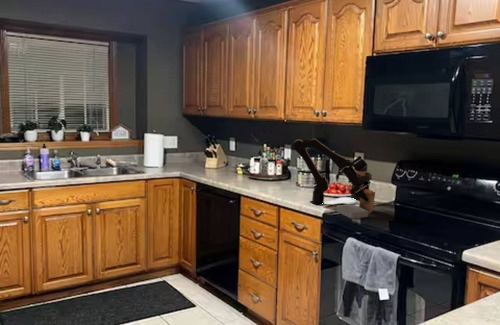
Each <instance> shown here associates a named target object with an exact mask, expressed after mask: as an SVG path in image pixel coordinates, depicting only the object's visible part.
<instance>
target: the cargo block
mask: <svg viewBox="0 0 500 325" xmlns="http://www.w3.org/2000/svg"><path fill="white" fill-rule="evenodd" d="M364 192H365V193H368V194H372V193H373V192H374V190H372V189H369V190H368V189H365V190H364Z"/></svg>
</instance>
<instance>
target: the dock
mask: <svg viewBox="0 0 500 325" xmlns="http://www.w3.org/2000/svg"><path fill="white" fill-rule="evenodd" d="M368 212H369V211H367V210H365V209H362V208H360V207H359V206H358V205H356V204H344V205H337V206H336V213H339V214H341V215H343V216H345V217H347V218H349V219H360V218H368V217H369V213H368Z"/></svg>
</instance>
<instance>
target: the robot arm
mask: <svg viewBox="0 0 500 325" xmlns="http://www.w3.org/2000/svg"><path fill="white" fill-rule="evenodd" d="M292 146H293V149H294V150H295V152H296V153H297V154H298V155H300V157H301V158H302V160H303V161H304V164H305V165H306V166H307V168H308V170H309V171H310V174H311V175H312V176H313V178H314V180H315V186H313V191H312V199H311V200H309V203H310V204H313V205H314V206H320V204H322V203H325V202H324V201H325V200H324V199H325V192H327V191H328V189H329V180H328V179H327V178H326V175H325V174H324V175H322V174H321V173H320V171H319V170H318V168H317V166H316V165H315V163H314V161H313V159H312V158H311V155H310V154H309V153H308V151H307V149H308V148H313V147H314V148H315V149H316V150H317V151H319V152H321V153H322V154H323V155H324V156H326V157H327V158H329V159H330V160H331V161H332V162H333V163H334V164H335V165H336V166H337V167H338V168H339V175H343V174H344V176H345V177H346V178H347V180H348V183H349V184H351V186H352V185H353V188H352V187H351V188H350V189H349V193H350V196H351V195H352V194H354V193H355V192H356V193H355V194H354V195H356V196H358V197H360V198H362V199H364V200H365V201H369V200H368V198H367V196H366V194H365V192H364V190H365V189H368V190H370V186H371V185H370V184H371V180H372V179H373V178H372V176H373V175H372V174H371V173H370V172H369V171H367V172H366V173H365V175H363V176H361V175H360V174H357V173H356V172H355V170H356V171H358V170H359V171H360V170H362V169H363V168H365V167H366V166H367V167H368V163H367V162H366V160H365V159H364V158H363V157H362V156H361V155H359V156H357V157H356V158H355V159H353V160H351V159H347V158H346V157H345V156H343V155H341V154H340V153H336V152H334V151H333V150H331V149H330V148H328V147H327V145H324V144H323V143H322V142H320V141H319V140H318V139H317V138H309V139H303V140H302V139H301V138H299V139H296V140H294V142H293V145H292ZM354 168H355V170H354Z"/></svg>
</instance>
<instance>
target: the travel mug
mask: <svg viewBox="0 0 500 325" xmlns="http://www.w3.org/2000/svg"><path fill="white" fill-rule="evenodd" d="M353 169H354V170H355V168H354V167H353ZM355 172H356V173H357V174H360V175H361V176H363V175H365V173H366V172H368V165H367V166H366V167H365V168H363V169H362V170H360V171H359V170H358V171H356V170H355ZM351 188H353V185H352V184H351ZM355 193H356V192H355ZM355 193H354V194H355ZM354 194H352V195H351V194H350V199H351V198H354V199H356V200H355V201H360V197H358V196H356V195H354Z"/></svg>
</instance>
